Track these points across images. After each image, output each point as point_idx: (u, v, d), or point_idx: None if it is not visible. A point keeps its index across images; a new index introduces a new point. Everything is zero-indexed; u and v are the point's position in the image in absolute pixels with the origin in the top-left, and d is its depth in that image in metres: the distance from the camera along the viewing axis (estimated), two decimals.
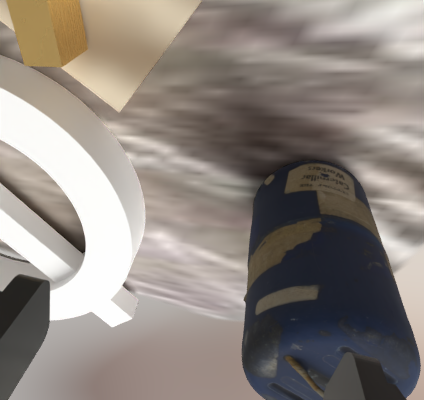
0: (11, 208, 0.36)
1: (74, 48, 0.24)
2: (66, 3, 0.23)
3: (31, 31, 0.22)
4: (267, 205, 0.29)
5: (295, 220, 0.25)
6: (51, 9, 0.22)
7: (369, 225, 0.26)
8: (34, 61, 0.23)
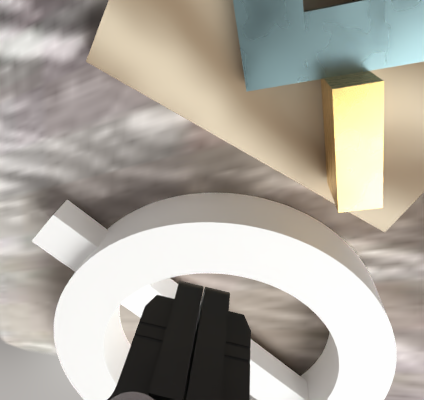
0: None
1: None
2: None
3: (356, 179, 0.21)
4: None
5: None
6: (381, 154, 0.21)
7: None
8: (351, 206, 0.22)
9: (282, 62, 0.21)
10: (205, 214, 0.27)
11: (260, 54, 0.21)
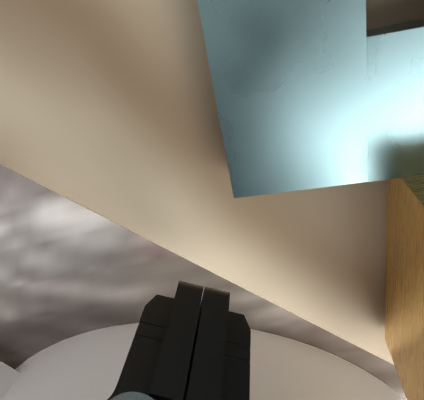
0: None
1: None
2: None
3: None
4: None
5: None
6: None
7: None
8: None
9: (311, 144, 0.10)
10: None
11: (263, 126, 0.10)
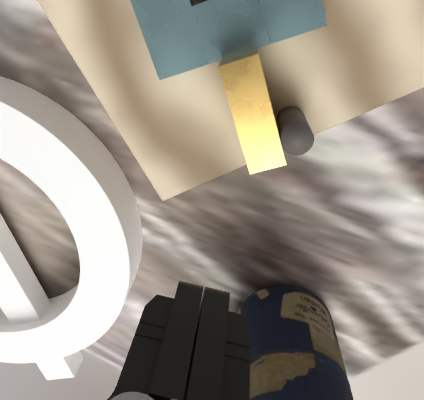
0: (3, 242, 0.35)
1: None
2: None
3: (257, 142, 0.24)
4: (263, 322, 0.32)
5: (293, 350, 0.29)
6: (274, 117, 0.24)
7: (343, 367, 0.31)
8: (259, 167, 0.25)
9: (183, 51, 0.25)
10: (18, 103, 0.28)
11: (164, 46, 0.25)
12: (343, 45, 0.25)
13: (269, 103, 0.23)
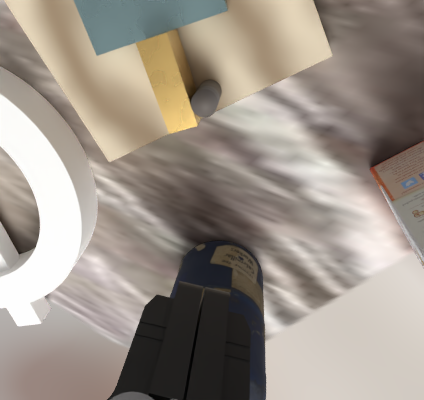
0: None
1: None
2: (189, 81, 0.31)
3: (172, 106, 0.30)
4: (195, 267, 0.38)
5: (213, 286, 0.35)
6: (185, 86, 0.29)
7: (259, 303, 0.36)
8: (176, 128, 0.30)
9: (114, 31, 0.30)
10: None
11: (98, 27, 0.30)
12: (247, 28, 0.31)
13: (179, 73, 0.28)
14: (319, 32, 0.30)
